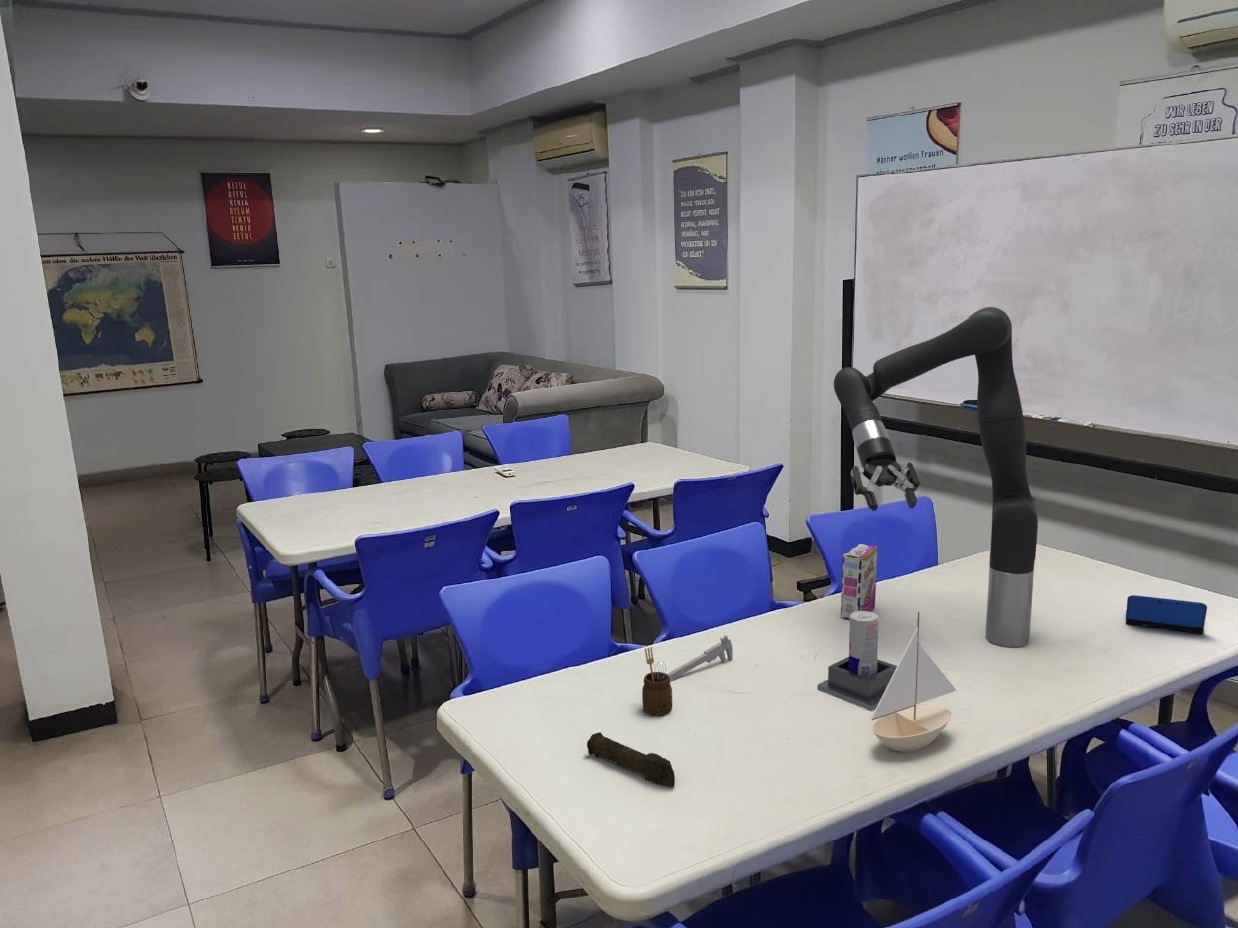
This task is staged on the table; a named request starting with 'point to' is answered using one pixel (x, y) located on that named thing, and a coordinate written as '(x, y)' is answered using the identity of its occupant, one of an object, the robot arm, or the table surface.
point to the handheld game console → (1166, 614)
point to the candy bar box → (859, 580)
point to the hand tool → (633, 760)
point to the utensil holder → (656, 690)
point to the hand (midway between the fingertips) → (894, 507)
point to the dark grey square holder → (857, 683)
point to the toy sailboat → (912, 701)
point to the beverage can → (863, 643)
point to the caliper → (706, 657)
